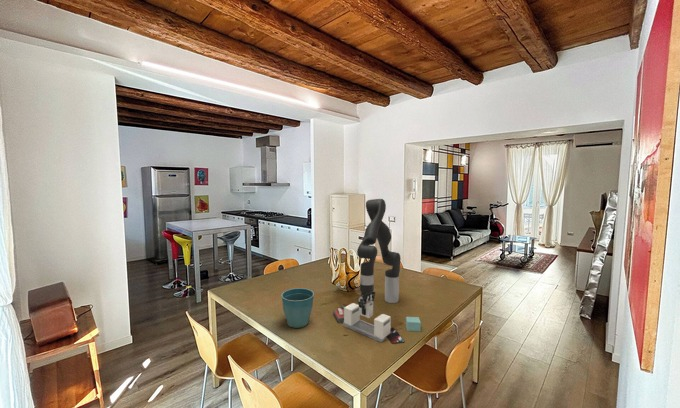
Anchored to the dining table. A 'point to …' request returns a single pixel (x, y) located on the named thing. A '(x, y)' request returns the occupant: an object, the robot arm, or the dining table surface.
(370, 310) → the block
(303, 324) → the flower pot
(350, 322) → the block
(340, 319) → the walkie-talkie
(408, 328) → the block
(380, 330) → the module
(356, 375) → the dining table surface
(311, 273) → the dining table surface
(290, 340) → the dining table surface
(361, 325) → the grey rectangular tray
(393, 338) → the smartphone
